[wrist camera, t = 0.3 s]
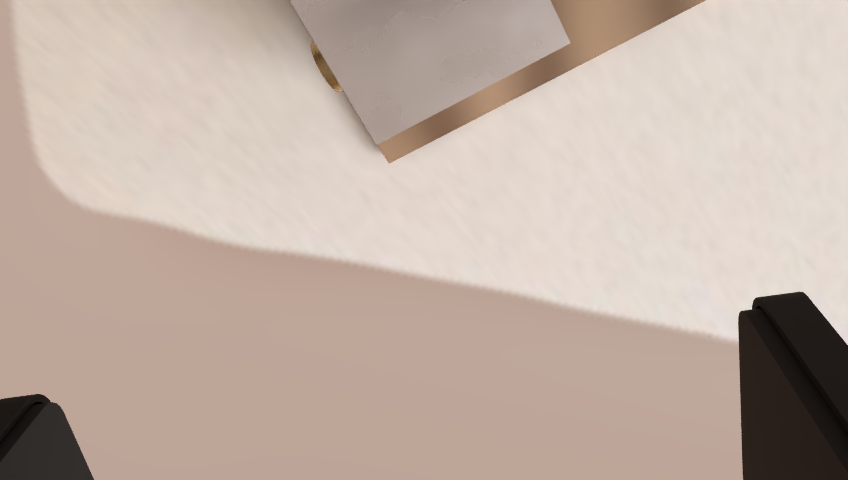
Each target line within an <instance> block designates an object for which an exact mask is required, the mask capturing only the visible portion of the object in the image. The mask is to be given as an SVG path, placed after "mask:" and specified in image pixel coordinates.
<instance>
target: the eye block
mask: <svg viewBox="0 0 848 480" xmlns="http://www.w3.org/2000/svg"><path fill="white" fill-rule="evenodd" d="M290 2H291V4H292V6H293V7H294V9H295V11H296V12H297V14H298V16H299V17H300V19H301V21H302V22H303V24H304V26H305V27H306V29H307V31H308V32H309V34H310V36H311V37H312V39H313V41H314V42H315V44H316V46H317V47H318V49H319V51H320V52H321V54H322V56H323V57H324V59H325V61H326V62H327V64H328V66H329V67H330V69H331V71H332V72H333V74H334V76H335V77H336V79H337V81H338V82H339V84H340V86H341V87H342V89H343V91H344V92H345V94H346V96H347V97H348V99H349V101H350V102H351V104H352V106H353V107H354V109H355V111H356V112H357V114H358V116H359V117H360V119H361V121H362V122H363V124H364V126H365V127H366V129H367V131H368V132H369V134H370V136H371V137H372V139H373V141H374V142H375V144H376V145H377V144H379V143H381V142H383V141H385V140H387V139H389V138H391V137H393V136H395V135H397V134H398V133H400V132H402V131H404V130H406V129H408V128H410V127H412V126H414V125H416V124H417V123H419V122H421V121H423V120H425V119H427V118H429V117H431V116H433V115H435V114H437V113H438V112H440V111H442V110H444V109H446V108H448V107H450V106H452V105H454V104H456V103H458V102H459V101H461V100H463V99H465V98H467V97H469V96H471V95H473V94H475V93H477V92H479V91H480V90H482V89H484V88H486V87H488V86H490V85H492V84H494V83H496V82H498V81H499V80H501V79H503V78H505V77H507V76H509V75H511V74H513V73H515V72H517V71H519V70H520V69H522V68H524V67H526V66H528V65H530V64H532V63H534V62H536V61H538V60H540V59H541V58H543V57H545V56H547V55H549V54H551V53H553V52H555V51H557V50H559V49H561V48H562V47H564V46H566V45H568V44H570V41H569V38H568V36H567V34H566V32H565V30H564V28H563V26H562V24H561V21H560V19H559V17H558V15H557V13H556V11H555V9H554V7H553V5H552V2H551V0H291V1H290Z"/></svg>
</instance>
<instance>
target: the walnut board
mask: <svg viewBox="0 0 848 480" xmlns="http://www.w3.org/2000/svg"><path fill="white" fill-rule="evenodd" d="M703 1H705V0H551V2H552V5H553V7H554V9H555V11H556V13H557V15H558V17H559V19H560V21H561V24H562V26H563V28H564V30H565V32H566V34H567V36H568V38H569V41H570V44H568V45H566V46H564V47H562V48H561V49H559V50H557V51H555V52H553V53H551V54H549V55H547V56H545V57H543V58H541V59H540V60H538V61H536V62H534V63H532V64H530V65H528V66H526V67H524V68H522V69H520V70H519V71H517V72H515V73H513V74H511V75H509V76H507V77H505V78H503V79H501V80H499V81H498V82H496V83H494V84H492V85H490V86H488V87H486V88H484V89H482V90H480V91H479V92H477V93H475V94H473V95H471V96H469V97H467V98H465V99H463V100H461V101H459V102H458V103H456V104H454V105H452V106H450V107H448V108H446V109H444V110H442V111H440V112H438V113H437V114H435V115H433V116H431V117H429V118H427V119H425V120H423V121H421V122H419V123H417V124H416V125H414V126H412V127H410V128H408V129H406V130H404V131H402V132H400V133H398V134H397V135H395V136H393V137H391V138H389V139H387V140H385V141H383V142H381V143H379V144H377V145H378V146H379V148H380V150H381V151H382V153H383V155H384V156H385V158H386V160H387V161H388V163H391V162H393V161H395V160H397V159H399V158H401V157H403V156H405V155H406V154H408V153H410V152H412V151H414V150H416V149H418V148H420V147H422V146H424V145H426V144H428V143H430V142H432V141H434V140H436V139H438V138H439V137H441V136H443V135H445V134H447V133H449V132H451V131H453V130H455V129H457V128H459V127H461V126H463V125H465V124H467V123H469V122H471V121H472V120H474V119H476V118H478V117H480V116H482V115H484V114H486V113H488V112H490V111H492V110H494V109H496V108H498V107H500V106H502V105H504V104H505V103H507V102H509V101H511V100H513V99H515V98H517V97H519V96H521V95H523V94H525V93H527V92H529V91H531V90H533V89H535V88H537V87H538V86H540V85H542V84H544V83H546V82H548V81H550V80H552V79H554V78H556V77H558V76H560V75H562V74H564V73H566V72H568V71H569V70H571V69H573V68H575V67H577V66H579V65H581V64H583V63H585V62H587V61H589V60H591V59H593V58H595V57H597V56H599V55H601V54H602V53H604V52H606V51H608V50H610V49H612V48H614V47H616V46H618V45H620V44H622V43H624V42H626V41H628V40H630V39H632V38H634V37H635V36H637V35H639V34H641V33H643V32H645V31H647V30H649V29H651V28H653V27H655V26H657V25H659V24H661V23H663V22H665V21H667V20H668V19H670V18H672V17H674V16H676V15H678V14H680V13H682V12H684V11H686V10H688V9H690V8H692V7H694V6H696V5H698V4H700V3H701V2H703Z"/></svg>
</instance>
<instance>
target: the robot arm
mask: <svg viewBox="0 0 848 480" xmlns="http://www.w3.org/2000/svg"><path fill="white" fill-rule="evenodd" d="M738 325H739V355H740V356H739V360H740V394H741V429H742V460H743V461H742V463H743V480H848V345H847V344H846V343H845V342H844V340H843V339H842V338H841V337H840V335H839V334H838V333H837V332H836V331H835V329H834V328H833V327H832V326H831V324H830V323H829V322H828V321H827V319H826V318H825V317H824V316H823V315H822V313H821V312H820V311H819V310H818V308H817V307H816V306H815V305H814V304H813V302H812V301H811V300H810V299H809V297H808V296H807V295H806V294H805V293H803V292H795V293H787V294H780V295H772V296H765V297H757V298H755V299H754V301H753V305H752V310H745V311H741V312H740V313H739V321H738ZM0 480H94V479H93V477H92V474H91V472H90V470H89V468H88V466H87V463H86V461H85V459H84V456H83V454H82V452H81V450H80V447H79V445H78V443H77V441H76V439H75V436H74V434H73V432H72V430H71V427H70V425H69V423H68V421H67V419H66V416H65V414H64V412H63V410H62V409H61V407H60V406H59V405H58V404H57V403H53V402H52V403H51V402H50V400H49V399H48V398H47V397H45V396H44V395H40V394H35V395H27V396H20V397H13V398H5V399H1V400H0Z"/></svg>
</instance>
